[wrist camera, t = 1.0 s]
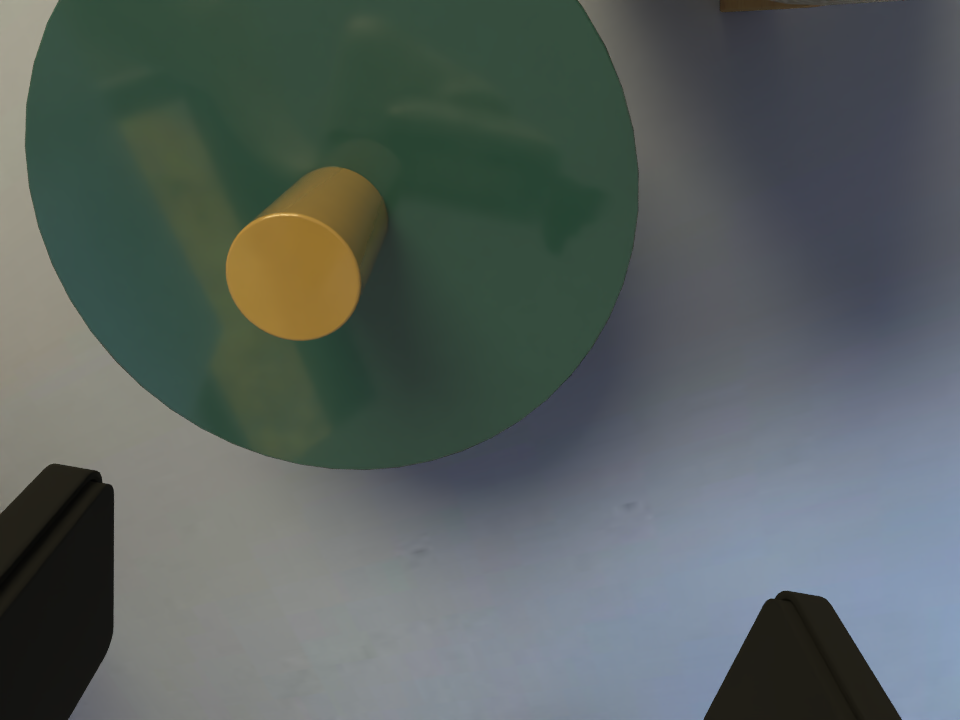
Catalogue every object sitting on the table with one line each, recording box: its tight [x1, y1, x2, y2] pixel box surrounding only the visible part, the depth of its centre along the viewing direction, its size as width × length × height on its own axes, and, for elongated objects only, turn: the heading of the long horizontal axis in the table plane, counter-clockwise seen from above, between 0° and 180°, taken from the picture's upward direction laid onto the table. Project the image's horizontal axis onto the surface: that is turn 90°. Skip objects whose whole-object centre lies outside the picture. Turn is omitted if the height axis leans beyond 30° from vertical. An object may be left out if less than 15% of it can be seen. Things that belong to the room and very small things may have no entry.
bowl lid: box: [25, 0, 639, 470], centre depth 19 cm, size 18×18×7 cm
